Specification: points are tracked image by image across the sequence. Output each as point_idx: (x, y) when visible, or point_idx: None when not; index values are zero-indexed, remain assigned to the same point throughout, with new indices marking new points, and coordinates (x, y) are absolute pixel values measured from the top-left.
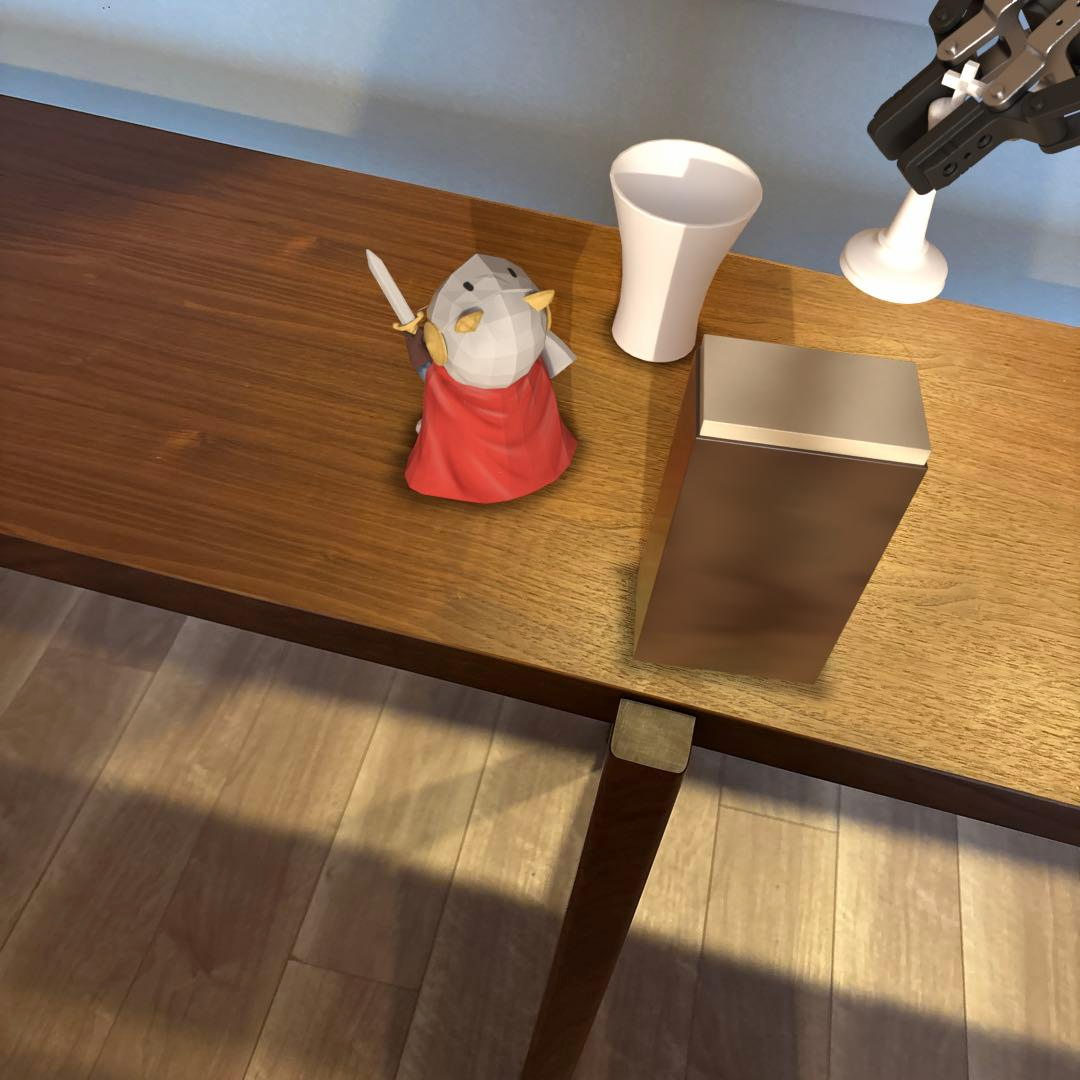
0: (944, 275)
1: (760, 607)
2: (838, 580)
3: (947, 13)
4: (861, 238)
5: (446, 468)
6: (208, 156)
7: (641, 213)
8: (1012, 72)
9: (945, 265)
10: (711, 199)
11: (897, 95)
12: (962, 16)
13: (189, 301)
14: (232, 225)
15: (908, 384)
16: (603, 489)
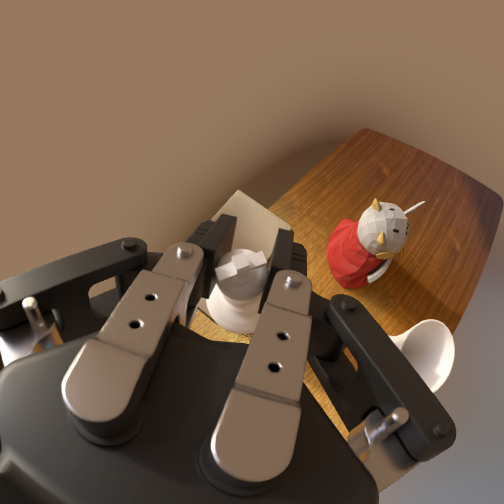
0: (211, 312)
1: None
2: None
3: (344, 307)
4: None
5: (345, 226)
6: (491, 238)
7: (418, 323)
8: (184, 266)
9: (218, 320)
10: None
11: (301, 257)
12: (333, 327)
13: (438, 200)
14: (466, 229)
15: (205, 303)
16: (318, 284)
